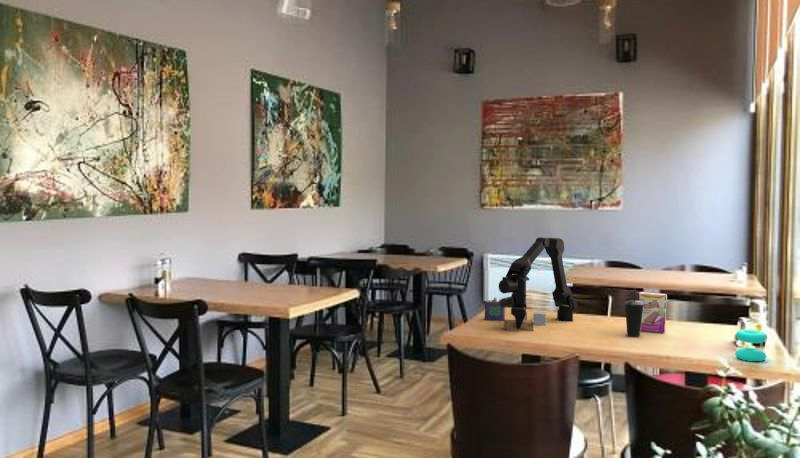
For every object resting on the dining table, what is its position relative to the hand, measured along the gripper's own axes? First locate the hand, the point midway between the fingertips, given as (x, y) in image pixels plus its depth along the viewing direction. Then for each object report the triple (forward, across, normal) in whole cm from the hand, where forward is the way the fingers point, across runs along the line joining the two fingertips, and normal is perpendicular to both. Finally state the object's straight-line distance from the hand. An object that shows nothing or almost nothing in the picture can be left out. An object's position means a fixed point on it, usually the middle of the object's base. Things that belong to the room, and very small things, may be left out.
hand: (518, 327), depth 294 cm
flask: (+1, -18, -11) cm, 21 cm away
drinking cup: (+1, +1, +47) cm, 47 cm away
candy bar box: (+1, -10, +56) cm, 57 cm away
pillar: (+1, -13, +9) cm, 16 cm away
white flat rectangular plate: (+1, -13, +5) cm, 14 cm away
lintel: (+1, 0, 0) cm, 1 cm away
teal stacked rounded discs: (+1, +32, +83) cm, 89 cm away
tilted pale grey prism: (+1, -13, +1) cm, 13 cm away
